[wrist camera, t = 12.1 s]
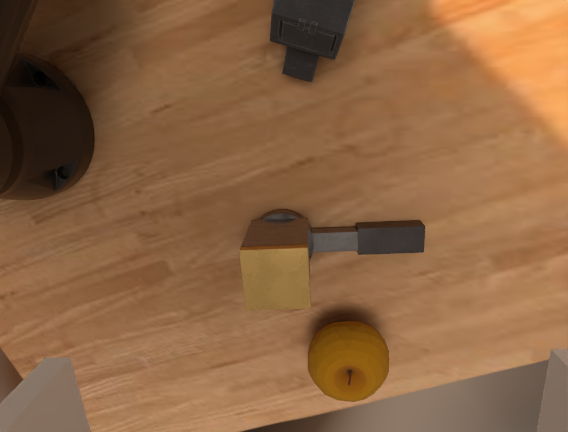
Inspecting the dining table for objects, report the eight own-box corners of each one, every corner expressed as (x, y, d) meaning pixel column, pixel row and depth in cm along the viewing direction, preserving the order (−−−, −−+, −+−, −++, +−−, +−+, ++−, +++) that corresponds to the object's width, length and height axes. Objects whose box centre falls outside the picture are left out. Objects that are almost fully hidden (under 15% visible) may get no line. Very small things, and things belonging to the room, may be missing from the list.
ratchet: (255, 267, 46) (246, 297, 39) (249, 210, 44) (239, 232, 37) (418, 261, 45) (437, 291, 38) (420, 202, 42) (441, 223, 36)
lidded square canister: (256, 270, 44) (245, 310, 36) (251, 220, 42) (239, 250, 34) (310, 268, 43) (310, 308, 36) (307, 217, 42) (307, 247, 34)
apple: (366, 290, 46) (380, 336, 38) (391, 350, 48) (409, 405, 40) (296, 314, 48) (294, 364, 39) (323, 371, 50) (327, 429, 41)
